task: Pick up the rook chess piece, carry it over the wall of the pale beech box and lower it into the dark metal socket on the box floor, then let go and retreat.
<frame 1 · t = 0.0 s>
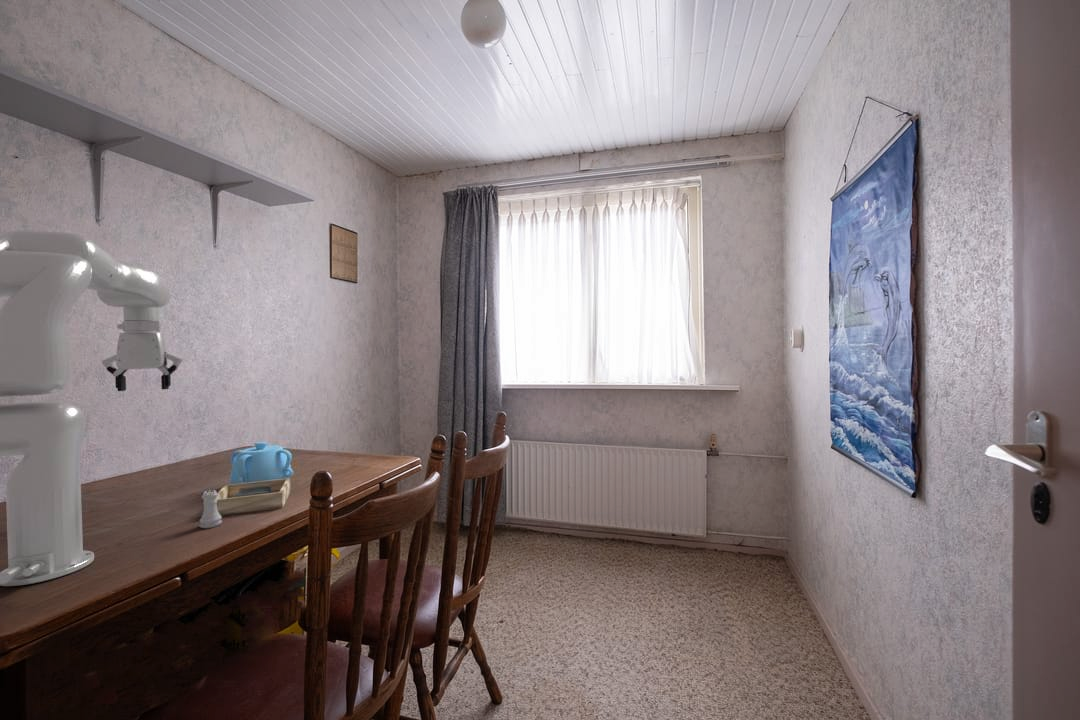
hand: (143, 389, 128), 31 cm above the table, fingers open, 9 cm apart
beech box: (253, 503, 125), on the table
decorative pot: (262, 486, 142), on the table
rook chess piece: (210, 526, 108), on the table
socket: (253, 495, 125), in the beech box, point 2 cm above the table
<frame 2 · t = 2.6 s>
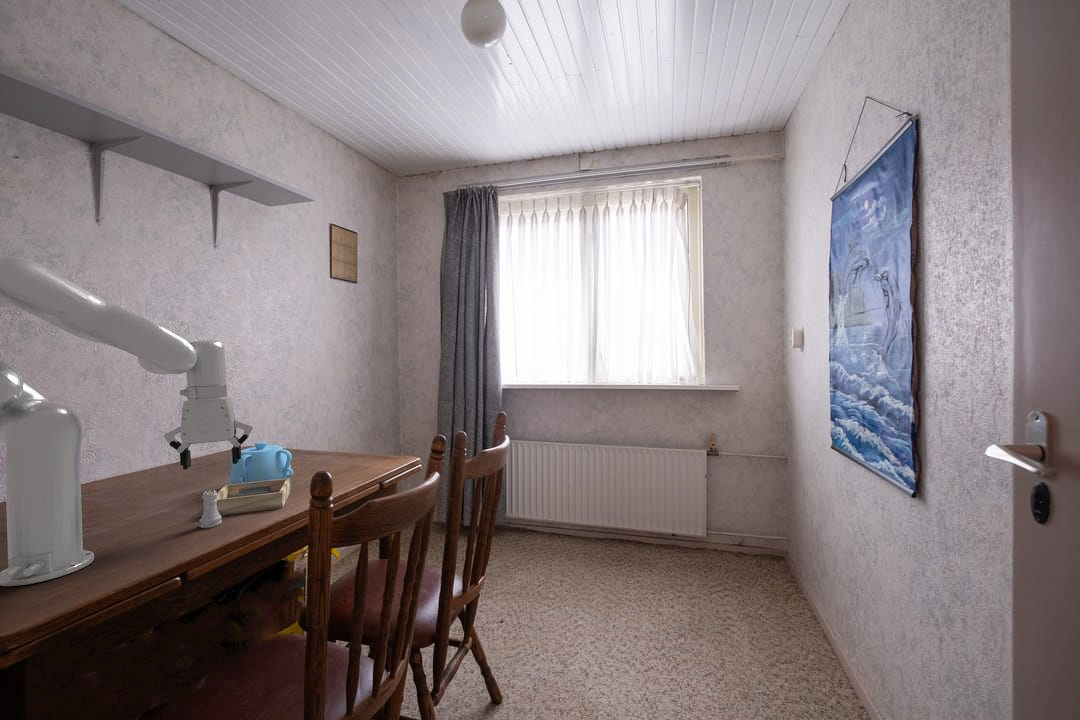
hand: (212, 465, 109), 14 cm above the table, fingers open, 9 cm apart
nothing on the table moved.
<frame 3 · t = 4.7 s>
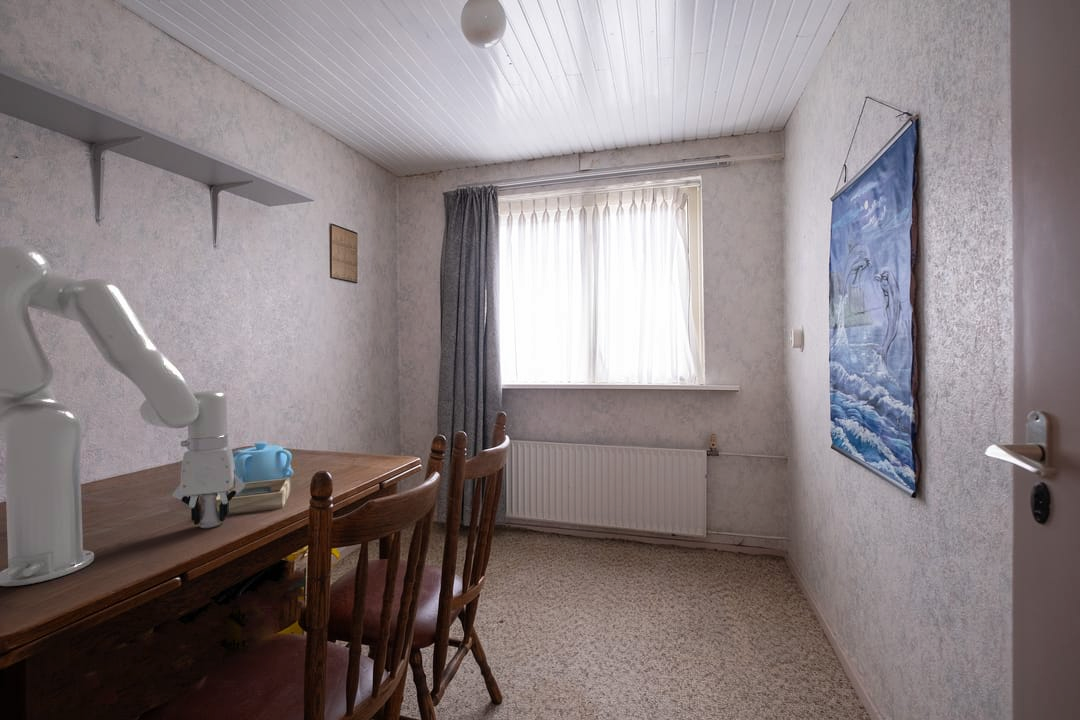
hand: (210, 520, 108), 1 cm above the table, fingers closed on rook chess piece, 4 cm apart
rook chess piece: (210, 526, 108), on the table, touching gripper
everything else where it was.
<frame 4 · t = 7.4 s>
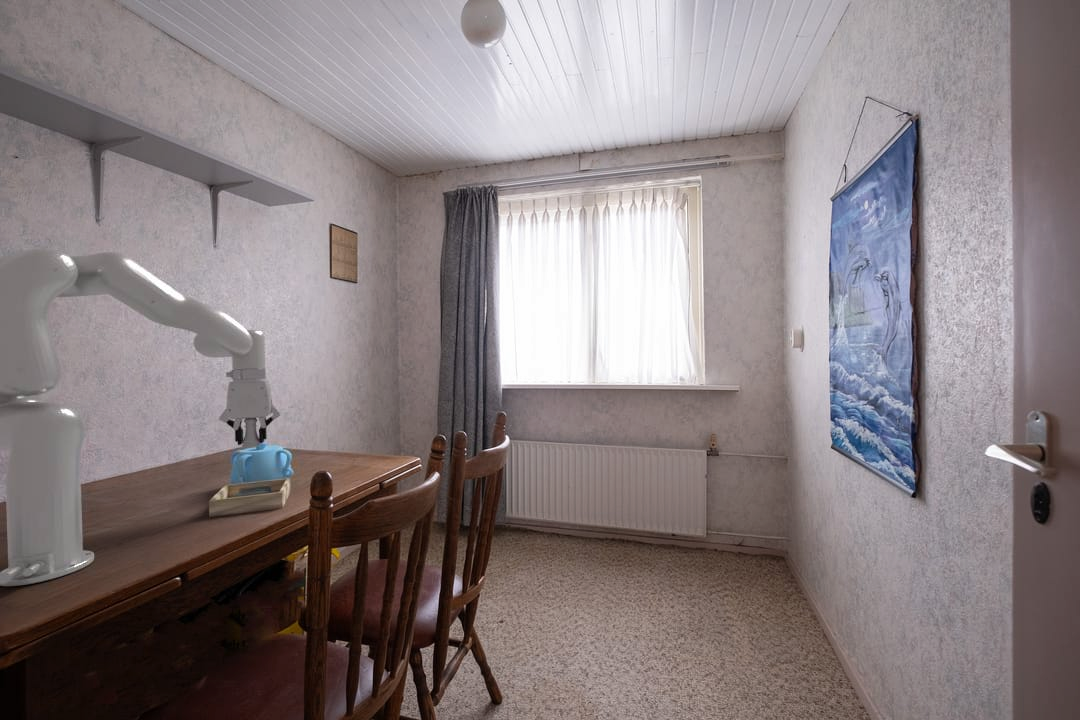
hand: (251, 442, 124), 17 cm above the table, fingers closed on rook chess piece, 4 cm apart
rook chess piece: (251, 447, 124), point 15 cm above the table, touching gripper
everything else where it was.
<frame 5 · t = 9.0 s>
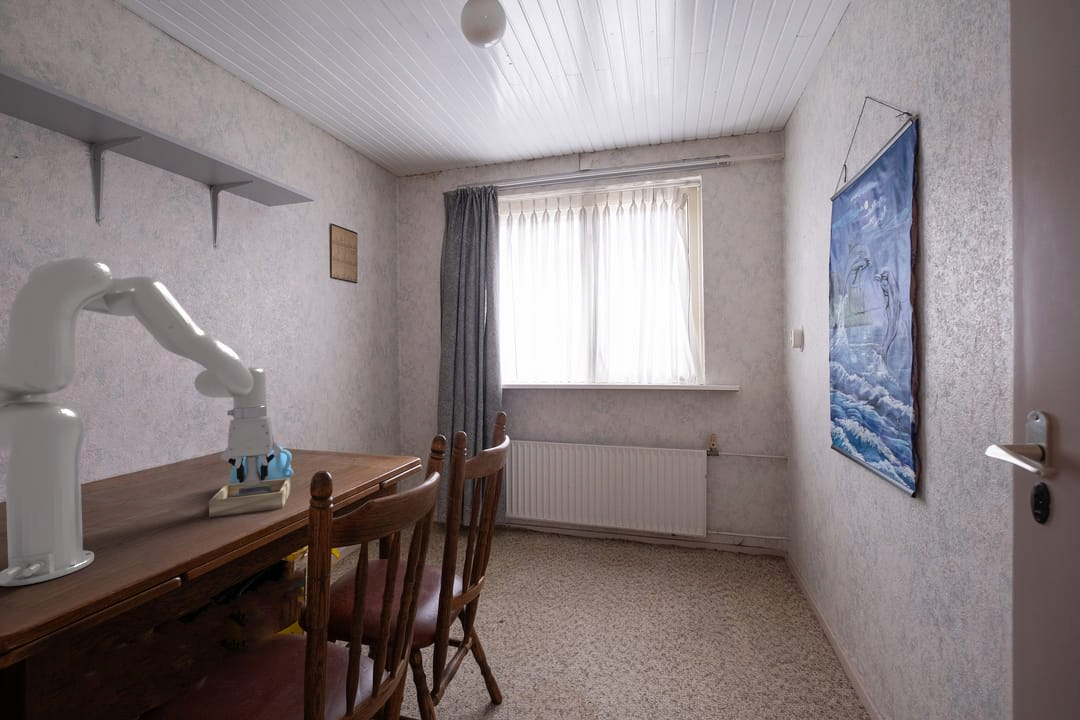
hand: (252, 479, 125), 6 cm above the table, fingers closed on rook chess piece, 4 cm apart
rook chess piece: (253, 484, 125), point 5 cm above the table, touching gripper
everything else where it was.
when the fingers open (3 cm above the table, at t = 10.4 s): rook chess piece drops 2 cm, resting on beech box.
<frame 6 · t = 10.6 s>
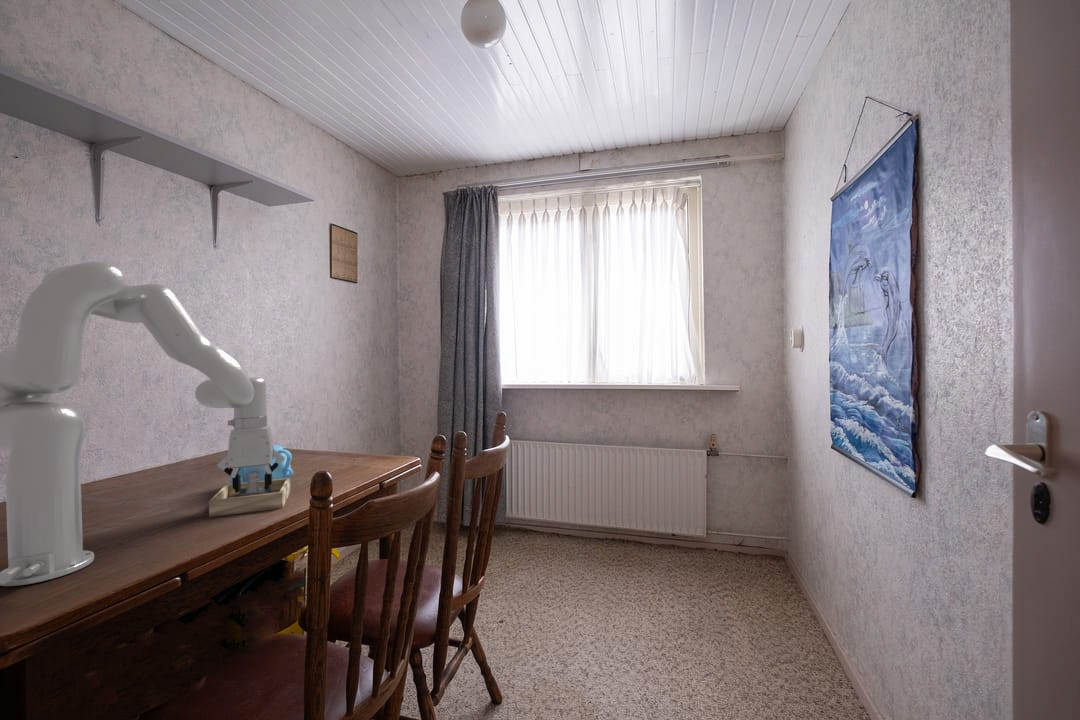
hand: (252, 489, 125), 4 cm above the table, fingers open, 6 cm apart
rook chess piece: (252, 501, 124), point 1 cm above the table, touching beech box
everything else where it was.
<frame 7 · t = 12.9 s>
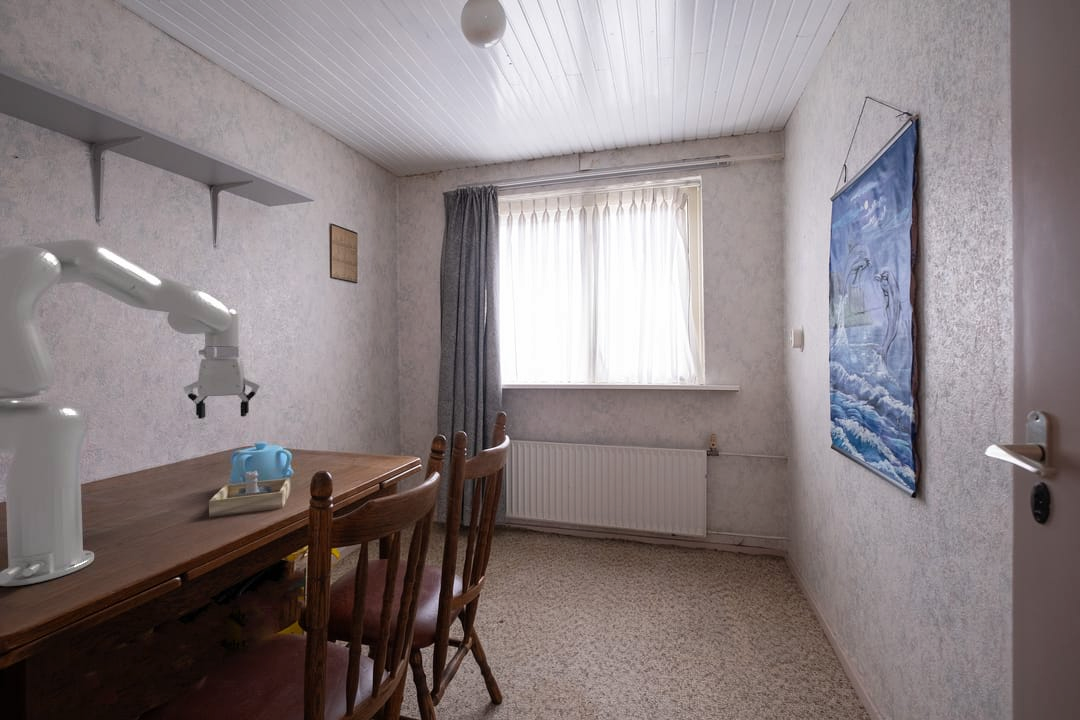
hand: (223, 417, 125), 24 cm above the table, fingers open, 9 cm apart
nothing on the table moved.
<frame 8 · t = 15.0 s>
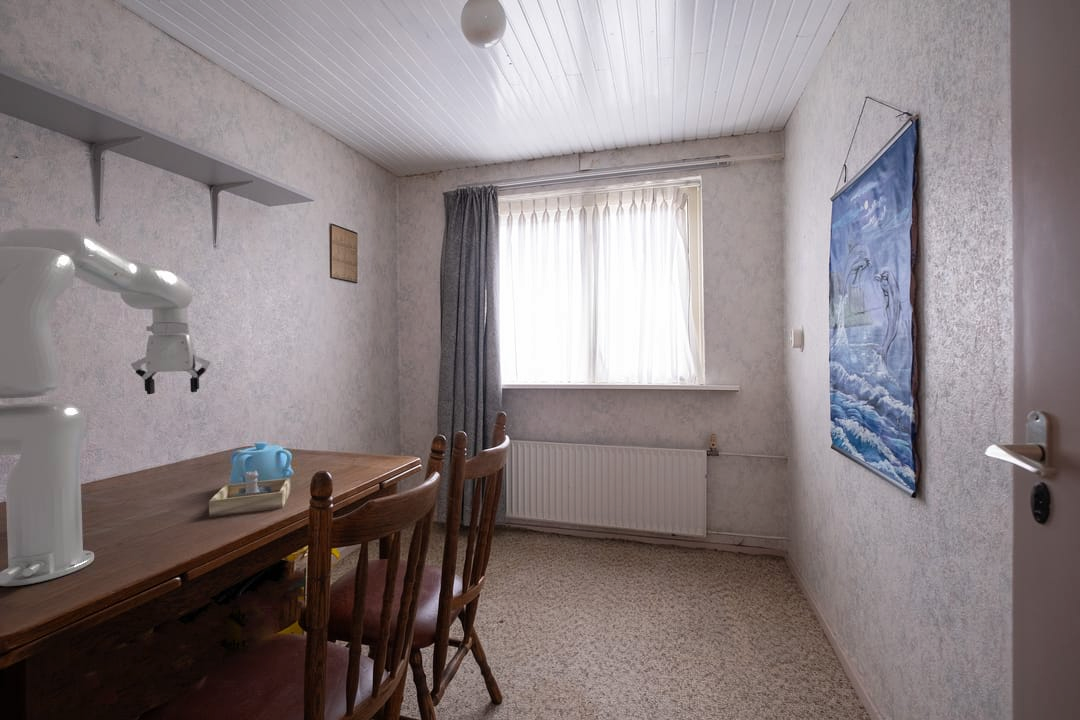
hand: (172, 392, 126), 30 cm above the table, fingers open, 9 cm apart
nothing on the table moved.
at the end: rook chess piece 0.2 cm off-centre on the socket, point 0.4 cm above the socket's base; rook chess piece tilted 0°; the gripper is holding nothing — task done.
